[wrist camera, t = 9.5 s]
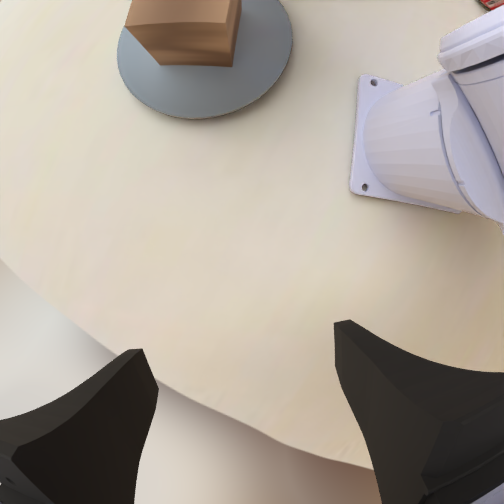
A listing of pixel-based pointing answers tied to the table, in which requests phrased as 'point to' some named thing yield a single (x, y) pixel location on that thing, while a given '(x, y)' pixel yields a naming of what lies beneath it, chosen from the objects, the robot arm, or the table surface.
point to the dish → (213, 68)
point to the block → (186, 30)
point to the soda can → (492, 3)
